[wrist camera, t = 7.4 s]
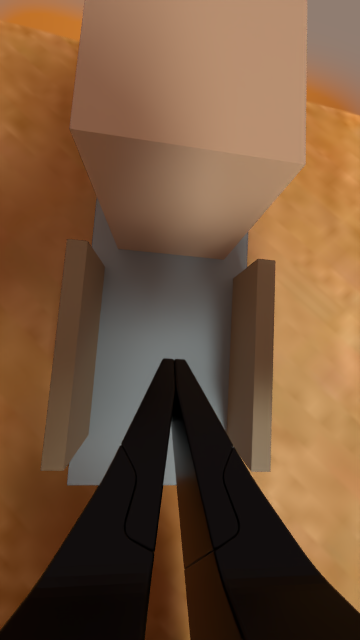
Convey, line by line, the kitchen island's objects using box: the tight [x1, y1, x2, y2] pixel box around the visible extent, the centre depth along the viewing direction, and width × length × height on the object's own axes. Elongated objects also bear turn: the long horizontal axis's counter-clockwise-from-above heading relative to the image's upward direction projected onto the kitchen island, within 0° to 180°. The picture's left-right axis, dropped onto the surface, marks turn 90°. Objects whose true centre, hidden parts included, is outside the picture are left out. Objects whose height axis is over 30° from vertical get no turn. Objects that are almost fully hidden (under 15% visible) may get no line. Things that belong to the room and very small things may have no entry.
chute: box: [41, 198, 275, 485], centre depth 14 cm, size 26×11×5 cm, turn 176°
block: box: [69, 0, 307, 260], centre depth 12 cm, size 9×8×9 cm
